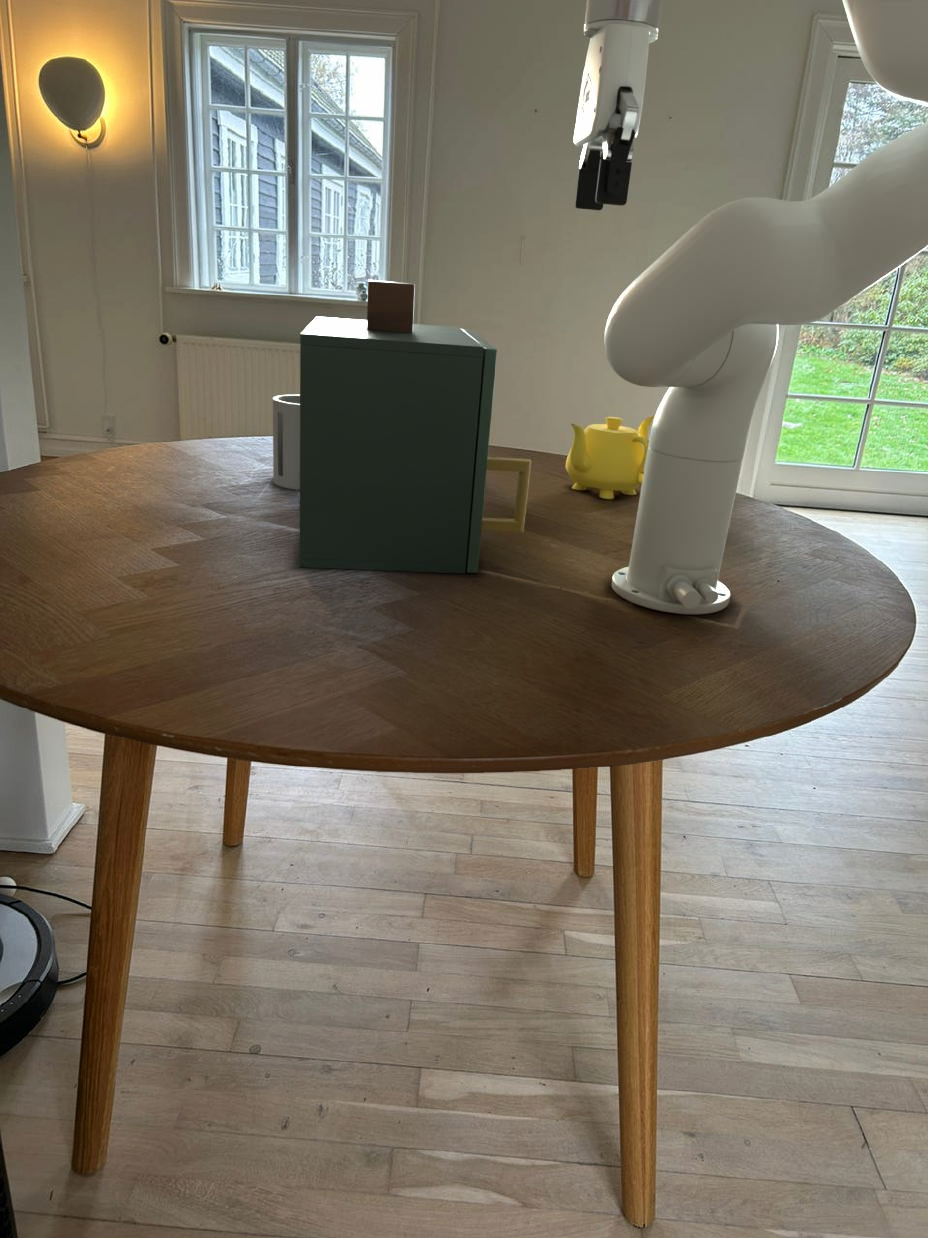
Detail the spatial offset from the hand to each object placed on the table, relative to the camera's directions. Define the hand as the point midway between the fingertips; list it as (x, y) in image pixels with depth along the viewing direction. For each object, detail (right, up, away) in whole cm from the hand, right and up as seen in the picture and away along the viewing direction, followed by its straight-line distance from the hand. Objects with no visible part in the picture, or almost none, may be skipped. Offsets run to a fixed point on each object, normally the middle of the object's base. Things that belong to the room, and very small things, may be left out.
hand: (598, 206), depth 93 cm
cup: (-38, -25, +33) cm, 56 cm away
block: (-23, -12, +3) cm, 26 cm away
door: (-12, -35, +13) cm, 39 cm away
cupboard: (-25, -35, +12) cm, 44 cm away
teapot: (+8, -25, +42) cm, 50 cm away
